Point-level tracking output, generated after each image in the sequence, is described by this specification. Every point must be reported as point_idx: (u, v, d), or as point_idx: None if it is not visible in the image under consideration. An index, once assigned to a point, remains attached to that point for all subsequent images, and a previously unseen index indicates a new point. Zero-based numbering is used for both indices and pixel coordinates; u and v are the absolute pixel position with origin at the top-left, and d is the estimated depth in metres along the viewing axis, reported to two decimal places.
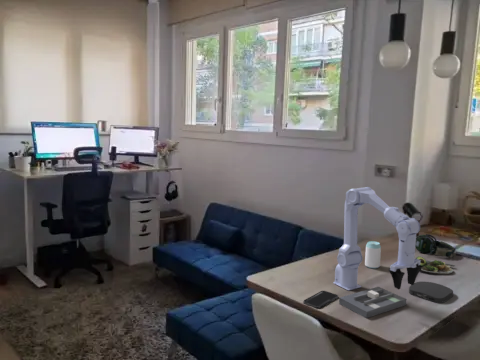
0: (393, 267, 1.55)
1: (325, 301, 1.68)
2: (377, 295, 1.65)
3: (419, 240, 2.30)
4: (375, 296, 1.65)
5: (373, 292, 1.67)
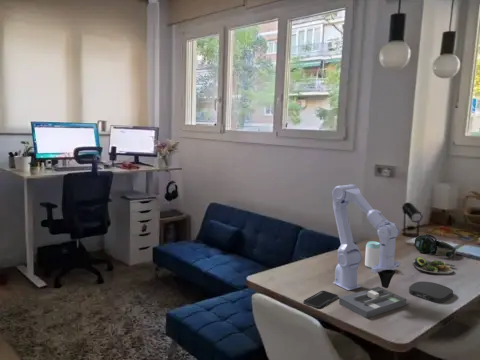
0: (374, 269, 1.64)
1: (325, 301, 1.68)
2: (377, 295, 1.65)
3: (419, 240, 2.30)
4: (375, 296, 1.65)
5: (373, 292, 1.67)
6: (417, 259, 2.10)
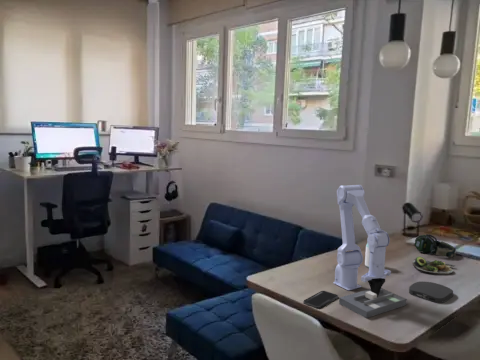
0: (364, 278, 1.62)
1: (325, 301, 1.68)
2: (375, 296, 1.65)
3: (419, 240, 2.30)
4: (373, 297, 1.64)
5: (371, 293, 1.66)
6: (417, 259, 2.10)
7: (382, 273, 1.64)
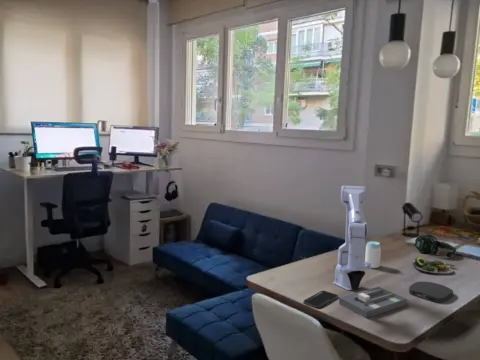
0: (342, 270, 1.55)
1: (325, 301, 1.68)
2: (368, 298, 1.63)
3: (420, 240, 2.30)
4: (366, 299, 1.62)
5: (364, 295, 1.64)
6: (417, 259, 2.10)
7: (361, 265, 1.57)
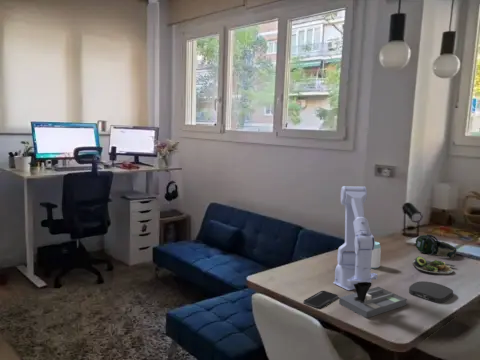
0: (349, 282, 1.58)
1: (325, 301, 1.68)
2: (369, 297, 1.63)
3: (420, 240, 2.30)
4: (367, 298, 1.63)
5: None
6: (417, 259, 2.10)
7: (368, 277, 1.60)
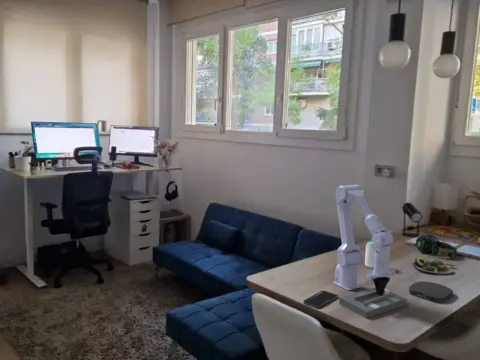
0: (368, 277, 1.63)
1: (325, 301, 1.68)
2: (388, 292, 1.68)
3: (421, 240, 2.29)
4: (386, 293, 1.68)
5: None
6: (417, 259, 2.10)
7: (387, 272, 1.65)
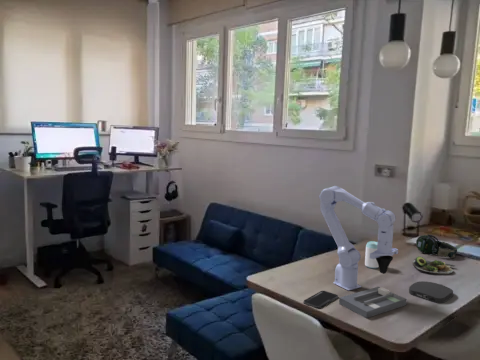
0: (372, 255, 1.70)
1: (325, 301, 1.68)
2: (388, 292, 1.68)
3: (421, 240, 2.29)
4: (386, 293, 1.68)
5: (384, 289, 1.70)
6: (417, 259, 2.10)
7: (390, 251, 1.71)
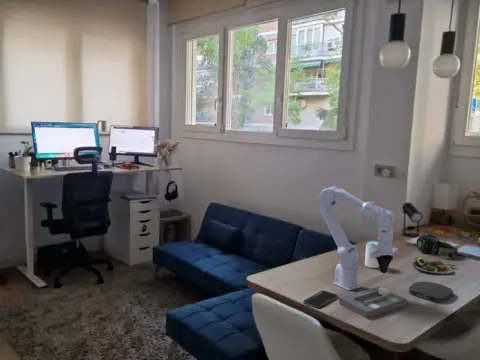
0: (372, 254, 1.70)
1: (325, 301, 1.68)
2: (388, 292, 1.68)
3: (421, 240, 2.29)
4: (386, 293, 1.68)
5: (384, 289, 1.70)
6: (417, 259, 2.10)
7: (390, 250, 1.72)
